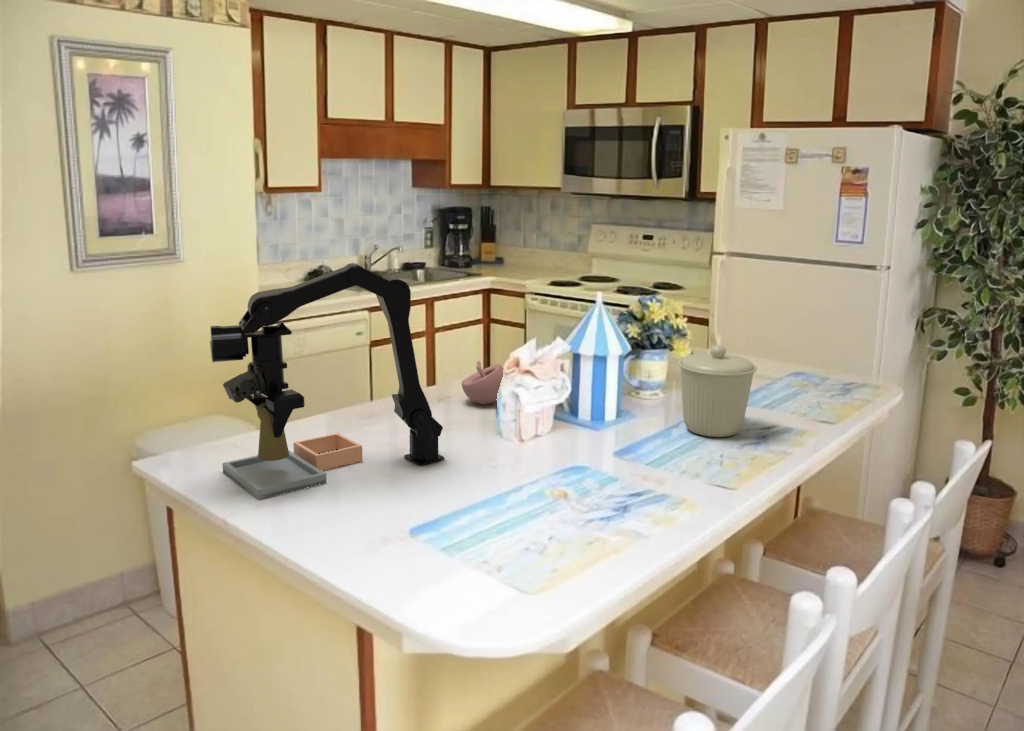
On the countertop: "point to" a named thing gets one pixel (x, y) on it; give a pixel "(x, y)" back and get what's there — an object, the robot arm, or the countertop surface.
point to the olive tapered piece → (270, 439)
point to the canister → (715, 391)
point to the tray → (273, 475)
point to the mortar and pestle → (483, 384)
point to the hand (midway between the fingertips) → (272, 434)
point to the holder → (314, 446)
